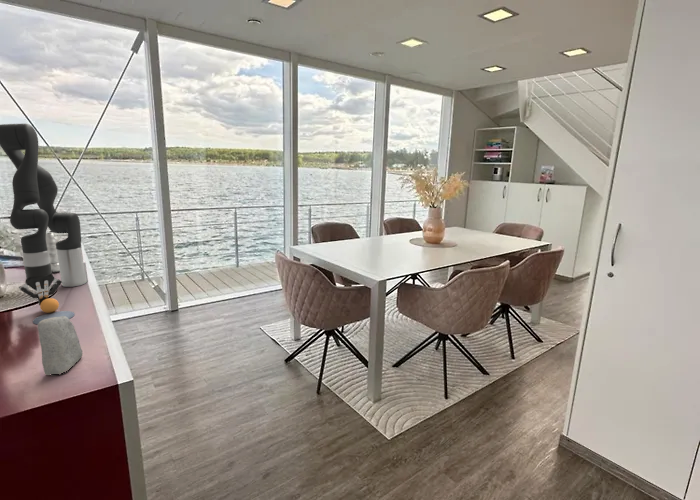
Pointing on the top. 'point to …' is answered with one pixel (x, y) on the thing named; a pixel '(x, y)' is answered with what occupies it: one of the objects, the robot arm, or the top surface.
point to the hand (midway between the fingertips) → (44, 306)
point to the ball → (49, 305)
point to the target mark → (54, 314)
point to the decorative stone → (58, 344)
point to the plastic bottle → (52, 251)
